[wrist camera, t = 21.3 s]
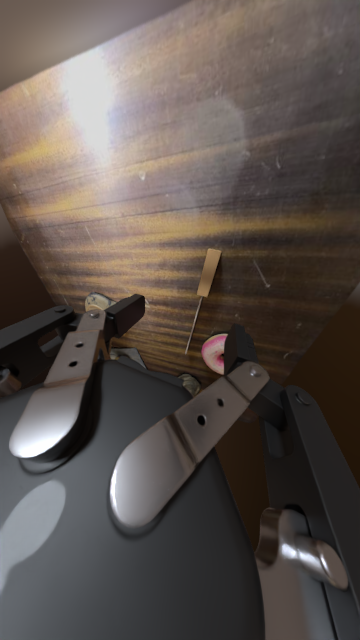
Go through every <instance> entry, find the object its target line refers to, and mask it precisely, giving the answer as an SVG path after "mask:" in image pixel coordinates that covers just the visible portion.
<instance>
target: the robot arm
mask: <svg viewBox="0 0 360 640" xmlns="http://www.w3.org/2000/svg"><path fill="white" fill-rule="evenodd" d="M144 313H145V297H144V296H142V295H139V294H134V295H132V296H131V297H128V298H124V299H122V300H120V301H119V302H117V303H116V304H114V305H112V306H110V307H108V308H107V309H105V310H100V309H94V310H89V311H87V312H85V313H84V314H80V313H75V312H74V309H73V307H71V306H57V307H53V308H51V309H49V310H46V311H44V312H42V313H39V314H37V315H35V316H32V317H30V318H28V319H25V320H23V321H21V322H19V323H16V324H14V325H11V326H9V327H6V328H4V329H2V330H0V640H360V489H359V487H358V485H357V483H356V480H355V479H354V476H353V474H352V472H351V470H350V469H349V467H348V464H347V462H346V460H345V458H344V456H343V454H342V452H341V451H340V449H339V446H338V444H337V442H336V440H335V438H334V436H333V434H332V432H331V430H330V428H329V426H328V424H327V422H326V421H325V418H324V416H323V414H322V412H321V410H320V408H319V406H318V404H317V403H316V401H315V400H314V399H313V398H312V397H311V396H310V395H309V394H308V393H307V392H306V391H304V390H303V389H301V388H299V387H297V386H294V385H289V386H287V387H286V388H284V387H282V386H280V385H279V384H277V383H276V382H274V381H272V380H271V379H269V375H268V373H267V371H266V370H265V369H264V368H263V367H262V366H261V365H260V364H259V363H258V359H257V355H256V351H255V347H254V343H253V339H252V338H251V337H250V335H249V334H246V333H245V329H244V326H241V325H238V324H235V323H234V324H233V325H232V327H231V329H230V331H229V333H228V335H227V337H226V339H225V343H224V375H223V376H222V377H221V378H219V379H218V380H217V381H215V382H214V383H213V384H211V385H210V386H209V387H207V388H206V389H205V390H203V391H202V392H201V393H199V394H198V395H197V396H195V397H194V396H193V395H192V394H191V392H190V391H189V390H188V389H187V388H186V387H184V386H183V382H184V380H183V379H181V378H178V377H176V376H173V375H171V374H168V373H161V372H153V371H149V370H147V369H146V368H145V367H143V366H142V365H141V364H139V363H138V362H137V361H135V360H133V359H130V358H127V357H125V356H122V355H121V356H120V358H119V359H118V360H114V359H112V360H110V353H111V343H112V340H111V338H112V337H113V336H114V337H116V338H120V337H121V336H122V335H123V334H125V333H126V332H127V331H128V330H129V329H130V328H131V327H132V326H133V325H134V324H135V323H137V322H138V321H139V320H140V319H141V318H142V317H143V316H144ZM54 329H56V331H57V333H58V335H59V336H58V337H56V338H54V339H53V340H51V341H50V342H48V343H46V344H45V345H43V346H41V347H39V345H38V340H39V338H40V337H42V336H43V335H45V334H47V333H48V332H51V331H52V330H54ZM52 364H53V366H52V368H51V370H50V372H49V374H48V376H47V378H46V380H45V382H43V383H40V384H37V385H35V386H32V387H29V388H27V389H24V390H21V391H19V390H20V389H21V388H22V387H23V386H25V385H26V384H27V383H29V382H30V381H31V380H33V379H34V378H35V377H36V376H38V375H39V374H40V373H42V372H43V371H44V370H46V369H47V368H48V367H49V366H51V365H52ZM247 407H248V408H250V409H251V410H252V411H254V412H255V413H256V414H258V415H259V423H260V431H261V439H262V446H263V454H264V462H265V470H266V478H267V486H268V494H269V502H270V508H267V509H266V510H265V511H264V512H263V514H262V517H261V522H260V541H259V545H258V548H257V550H256V551H255V553H254V551H253V548H252V545H251V542H250V539H249V536H248V533H247V531H246V528H245V525H244V523H243V520H242V518H241V515H240V512H239V510H238V507H237V505H236V502H235V499H234V497H233V494H232V492H231V489H230V486H229V484H228V481H227V479H226V476H225V474H224V471H223V468H222V465H221V463H220V460H219V458H218V455H217V452H216V450H215V447H214V445H215V444H216V443H217V442H218V441H219V440H220V438H221V437H222V436H223V435H224V434H225V433H226V431H227V430H228V429H229V428H230V427H231V426H232V424H233V423H234V422H235V421H236V420H237V419H238V417H239V416H240V415H241V414H242V413H243V412H244V410H245V409H246V408H247Z"/></svg>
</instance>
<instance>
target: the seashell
mask: <svg viewBox="0 0 360 640" xmlns="http://www.w3.org/2000/svg"><path fill="white" fill-rule="evenodd" d="M178 378H181V379H183V380H184V382H183V386H184V387H186V388H187V389H188V390H189V391H190V392H191V394H192V395H193V396H194V397H195V396H197V394H198V393H199V391H200V389H201V386H200V384H199V383H198V382H197V380H196V379H195V378H193V377H192V376H191V375H189V374H182V376H179V377H178Z"/></svg>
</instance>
